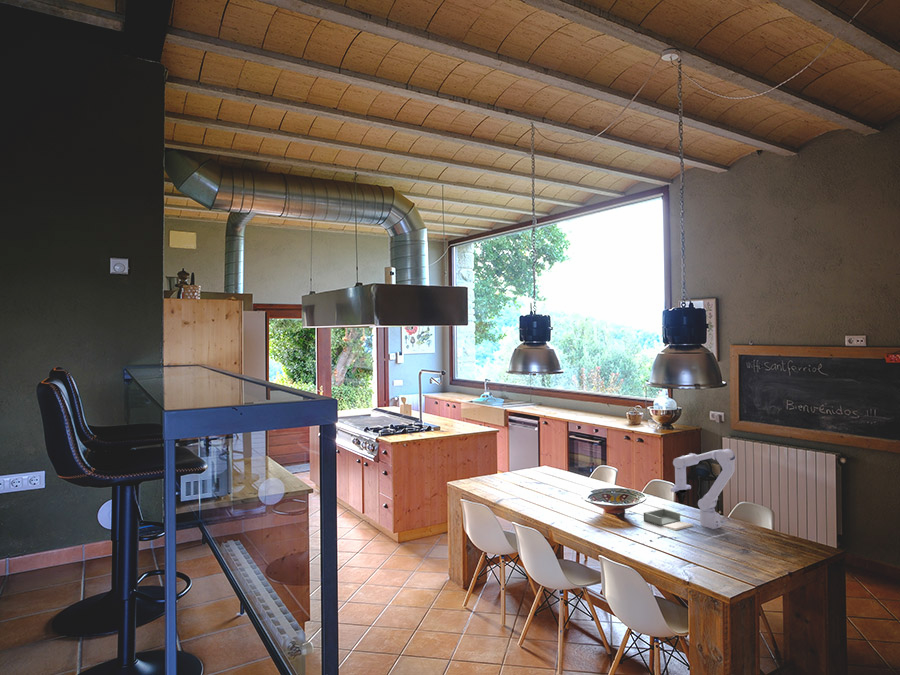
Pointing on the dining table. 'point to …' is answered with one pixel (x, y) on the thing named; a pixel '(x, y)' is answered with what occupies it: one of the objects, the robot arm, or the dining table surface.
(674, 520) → the cart bed
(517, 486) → the dining table surface
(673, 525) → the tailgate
